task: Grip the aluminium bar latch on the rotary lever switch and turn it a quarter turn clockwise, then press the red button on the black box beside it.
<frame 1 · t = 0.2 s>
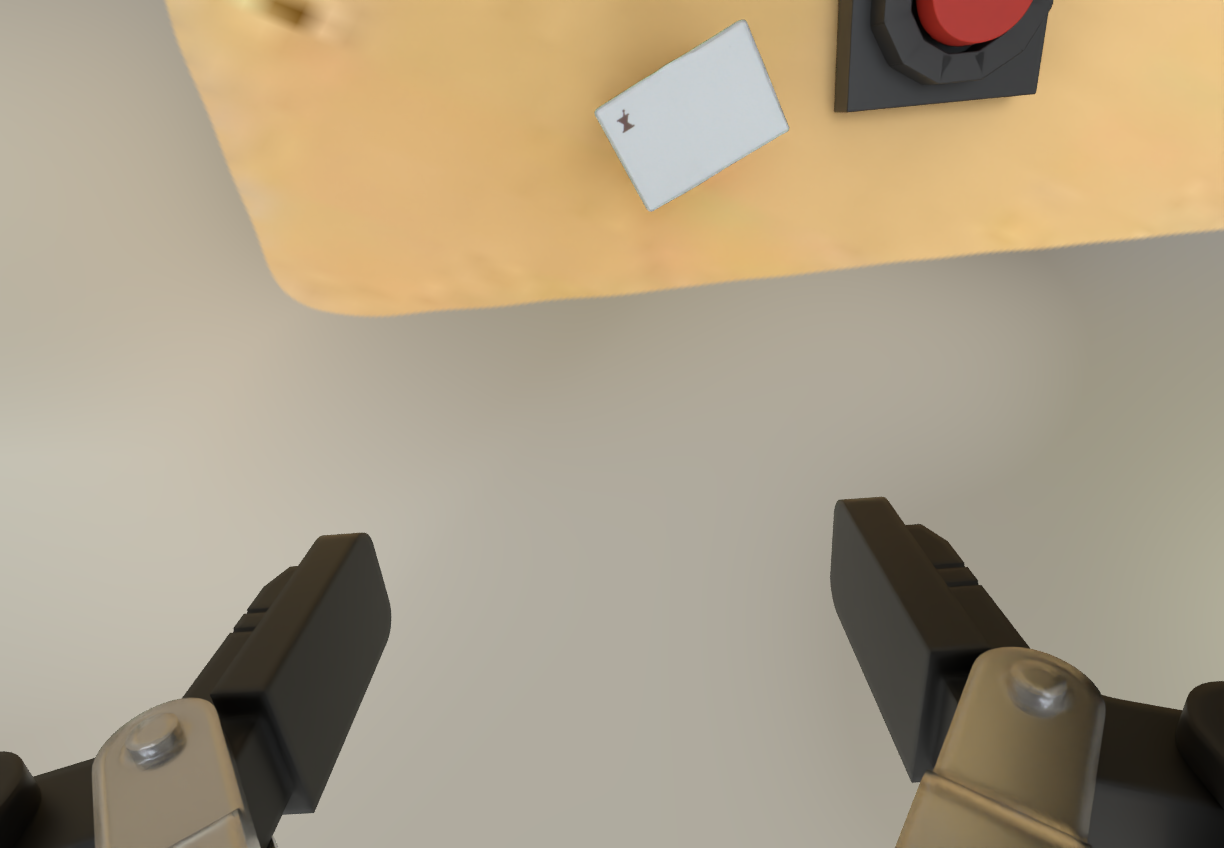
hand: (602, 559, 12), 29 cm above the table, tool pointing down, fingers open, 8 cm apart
cosmetic box: (668, 117, 35), on the table
button box: (931, 1, 33), on the table
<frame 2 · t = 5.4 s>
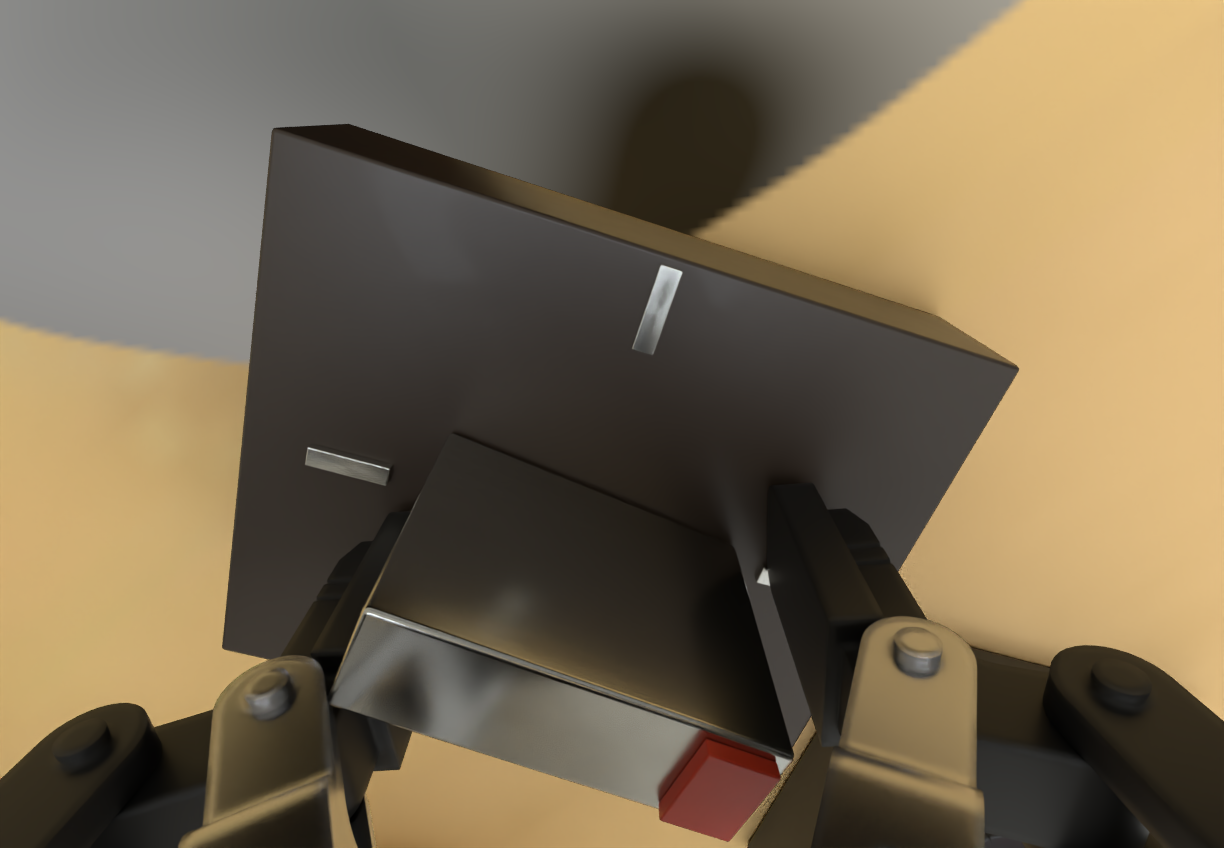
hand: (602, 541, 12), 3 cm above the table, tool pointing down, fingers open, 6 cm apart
rotary lever switch: (586, 448, 15), on the table
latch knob: (574, 613, 10), point 5 cm above the table, hinge at -8.0°, touching gripper
button box: (952, 778, 19), on the table
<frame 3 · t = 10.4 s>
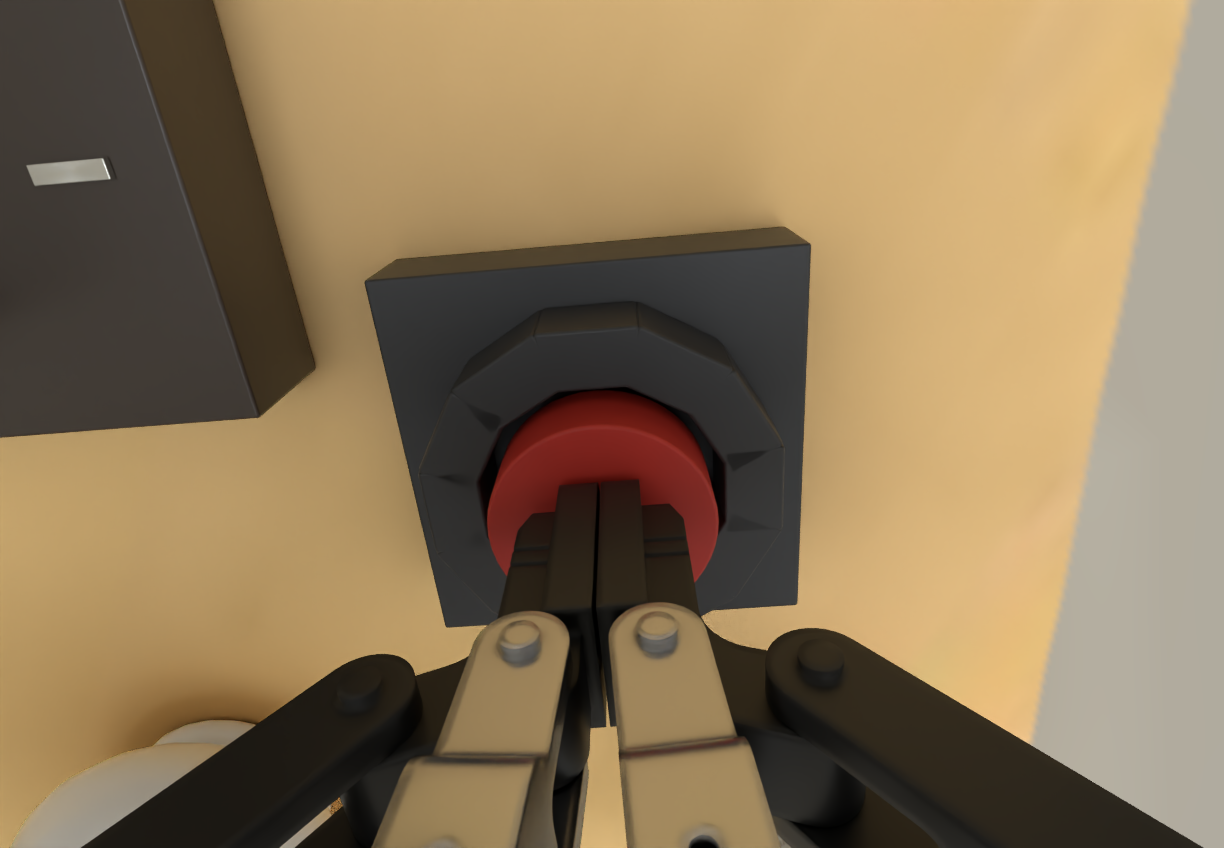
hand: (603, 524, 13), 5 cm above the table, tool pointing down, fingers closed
button: (603, 506, 14), point 4 cm above the table, slide at -0.2 cm, touching gripper
flower vase: (263, 788, 23), on the table
button box: (605, 421, 17), on the table
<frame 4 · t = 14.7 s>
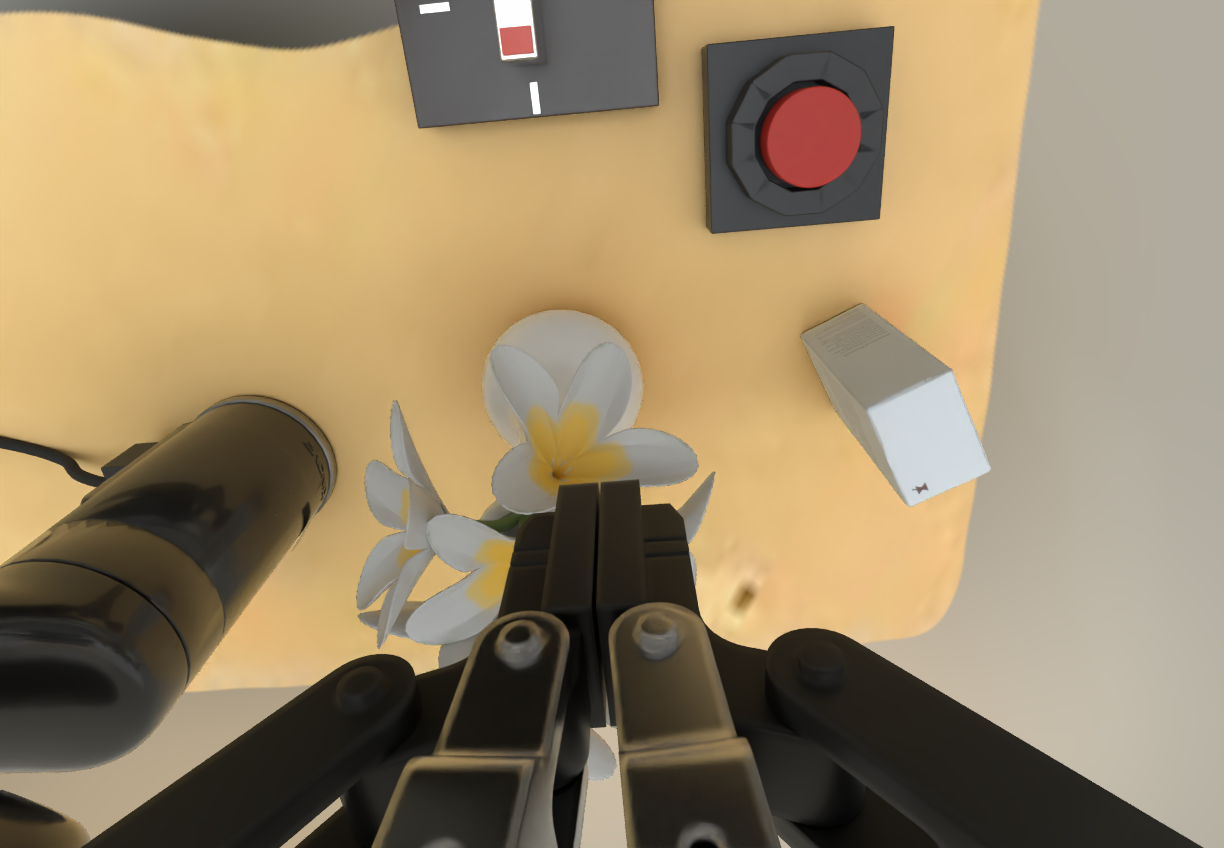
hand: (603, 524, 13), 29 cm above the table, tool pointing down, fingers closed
cosmetic box: (847, 355, 42), on the table
button: (809, 137, 33), point 4 cm above the table, slide at 0.1 cm
rotary lever switch: (530, 8, 34), on the table
flower vase: (574, 377, 43), on the table
button box: (787, 134, 37), on the table
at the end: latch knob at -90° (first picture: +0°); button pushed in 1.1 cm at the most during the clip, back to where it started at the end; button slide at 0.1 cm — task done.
